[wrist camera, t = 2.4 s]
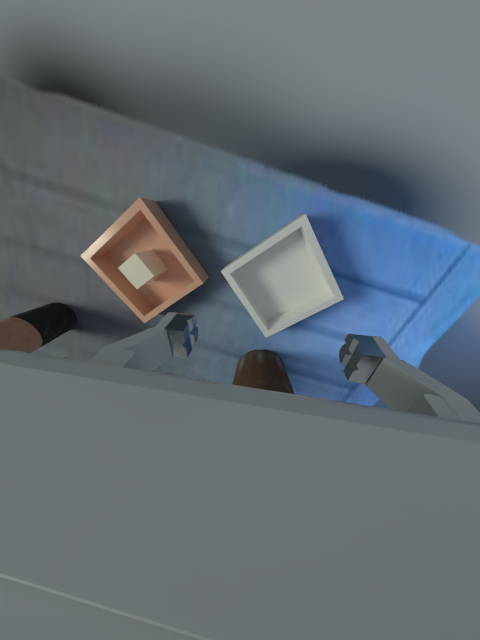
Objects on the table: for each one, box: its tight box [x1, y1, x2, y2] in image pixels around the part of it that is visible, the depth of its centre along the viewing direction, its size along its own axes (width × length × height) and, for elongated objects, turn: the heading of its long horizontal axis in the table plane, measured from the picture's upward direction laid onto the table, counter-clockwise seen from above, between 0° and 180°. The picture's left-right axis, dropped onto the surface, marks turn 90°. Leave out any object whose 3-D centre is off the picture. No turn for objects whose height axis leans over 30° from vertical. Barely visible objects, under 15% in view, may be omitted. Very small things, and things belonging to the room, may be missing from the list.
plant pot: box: [232, 350, 294, 394], centre depth 41 cm, size 16×16×16 cm
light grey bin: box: [221, 214, 344, 338], centre depth 35 cm, size 16×16×5 cm
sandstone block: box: [118, 249, 168, 289], centre depth 35 cm, size 4×4×6 cm
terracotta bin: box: [81, 197, 209, 323], centre depth 36 cm, size 16×16×5 cm
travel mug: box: [0, 303, 77, 353], centre depth 37 cm, size 8×8×20 cm
